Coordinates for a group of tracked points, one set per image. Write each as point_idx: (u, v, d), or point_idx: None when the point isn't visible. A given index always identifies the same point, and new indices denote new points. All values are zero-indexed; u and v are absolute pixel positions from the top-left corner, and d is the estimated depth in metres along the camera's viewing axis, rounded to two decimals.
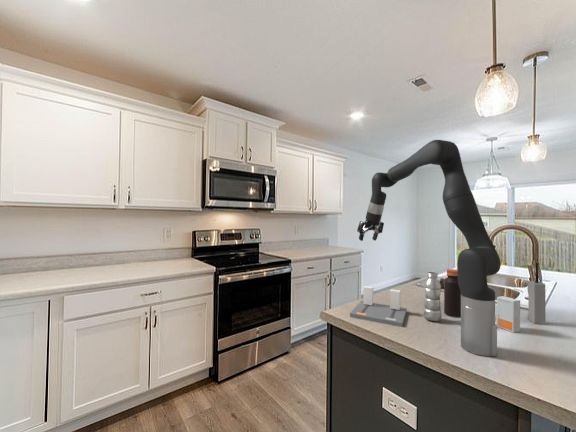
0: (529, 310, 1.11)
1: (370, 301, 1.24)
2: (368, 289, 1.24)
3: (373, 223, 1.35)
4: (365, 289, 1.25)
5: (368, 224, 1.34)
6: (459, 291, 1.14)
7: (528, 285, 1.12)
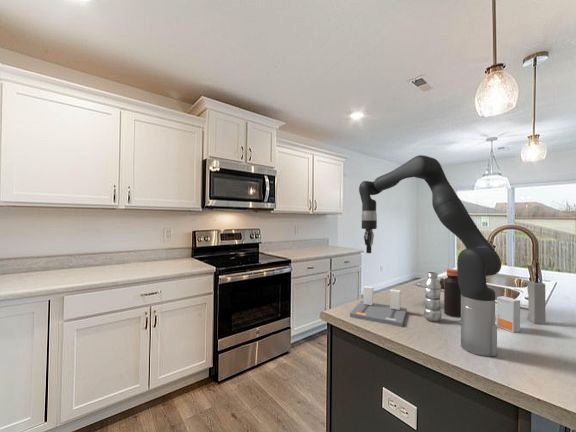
0: (529, 310, 1.11)
1: (370, 301, 1.24)
2: (368, 289, 1.24)
3: (371, 231, 1.35)
4: (365, 289, 1.25)
5: (370, 235, 1.33)
6: (459, 291, 1.14)
7: (528, 285, 1.12)
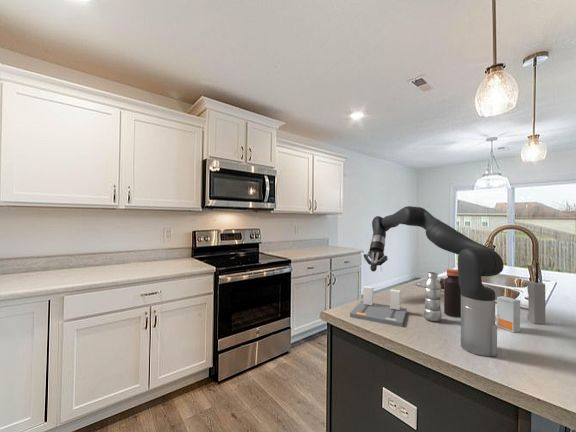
0: (529, 310, 1.11)
1: (370, 301, 1.24)
2: (368, 289, 1.24)
3: (375, 252, 1.42)
4: (365, 289, 1.25)
5: (370, 254, 1.42)
6: (459, 291, 1.14)
7: (528, 285, 1.12)
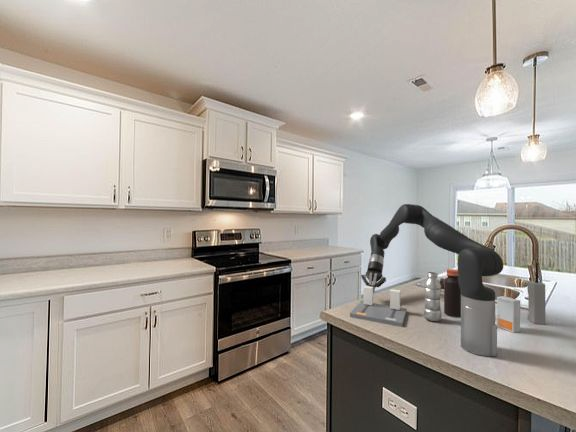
0: (529, 310, 1.11)
1: (370, 301, 1.24)
2: (368, 289, 1.24)
3: (374, 273, 1.37)
4: (365, 289, 1.25)
5: (367, 275, 1.37)
6: (459, 291, 1.14)
7: (528, 285, 1.12)
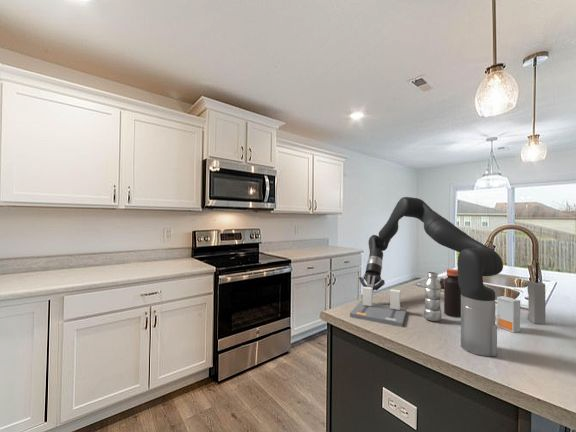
0: (529, 310, 1.11)
1: (369, 302, 1.22)
2: (367, 290, 1.23)
3: (372, 275, 1.32)
4: (364, 290, 1.24)
5: (365, 277, 1.33)
6: (459, 291, 1.14)
7: (528, 285, 1.12)
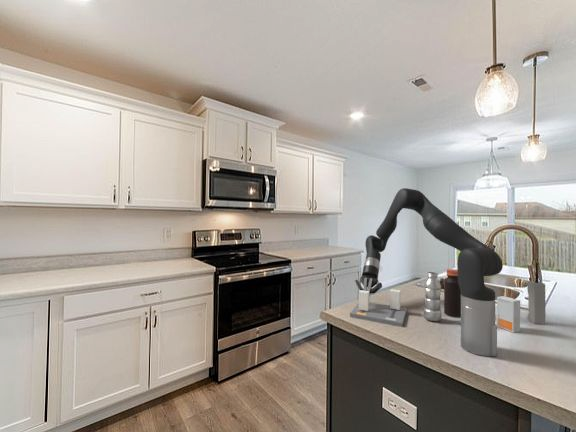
0: (529, 310, 1.11)
1: (366, 306, 1.16)
2: (364, 294, 1.16)
3: (369, 278, 1.26)
4: (360, 294, 1.17)
5: (362, 280, 1.26)
6: (459, 291, 1.14)
7: (528, 285, 1.12)
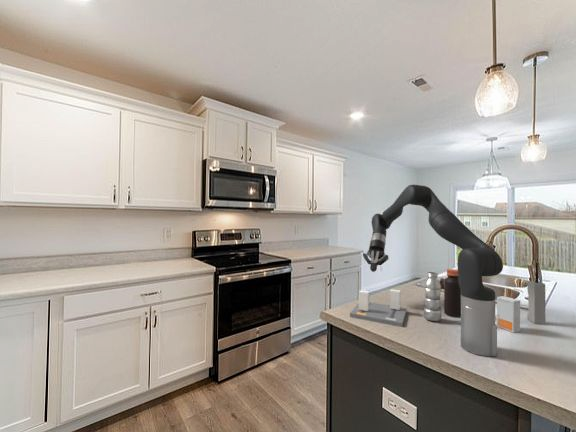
0: (529, 310, 1.11)
1: (366, 307, 1.16)
2: (364, 294, 1.16)
3: (376, 251, 1.33)
4: (360, 294, 1.17)
5: (369, 253, 1.33)
6: (459, 291, 1.14)
7: (528, 285, 1.12)
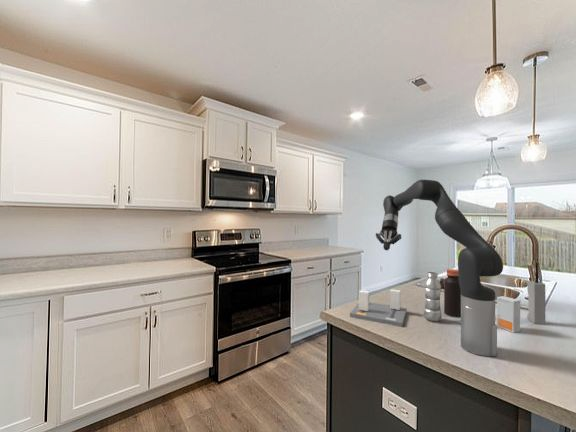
0: (529, 310, 1.11)
1: (366, 307, 1.16)
2: (364, 294, 1.16)
3: (388, 231, 1.35)
4: (360, 294, 1.17)
5: (382, 233, 1.35)
6: (459, 291, 1.14)
7: (528, 285, 1.12)
